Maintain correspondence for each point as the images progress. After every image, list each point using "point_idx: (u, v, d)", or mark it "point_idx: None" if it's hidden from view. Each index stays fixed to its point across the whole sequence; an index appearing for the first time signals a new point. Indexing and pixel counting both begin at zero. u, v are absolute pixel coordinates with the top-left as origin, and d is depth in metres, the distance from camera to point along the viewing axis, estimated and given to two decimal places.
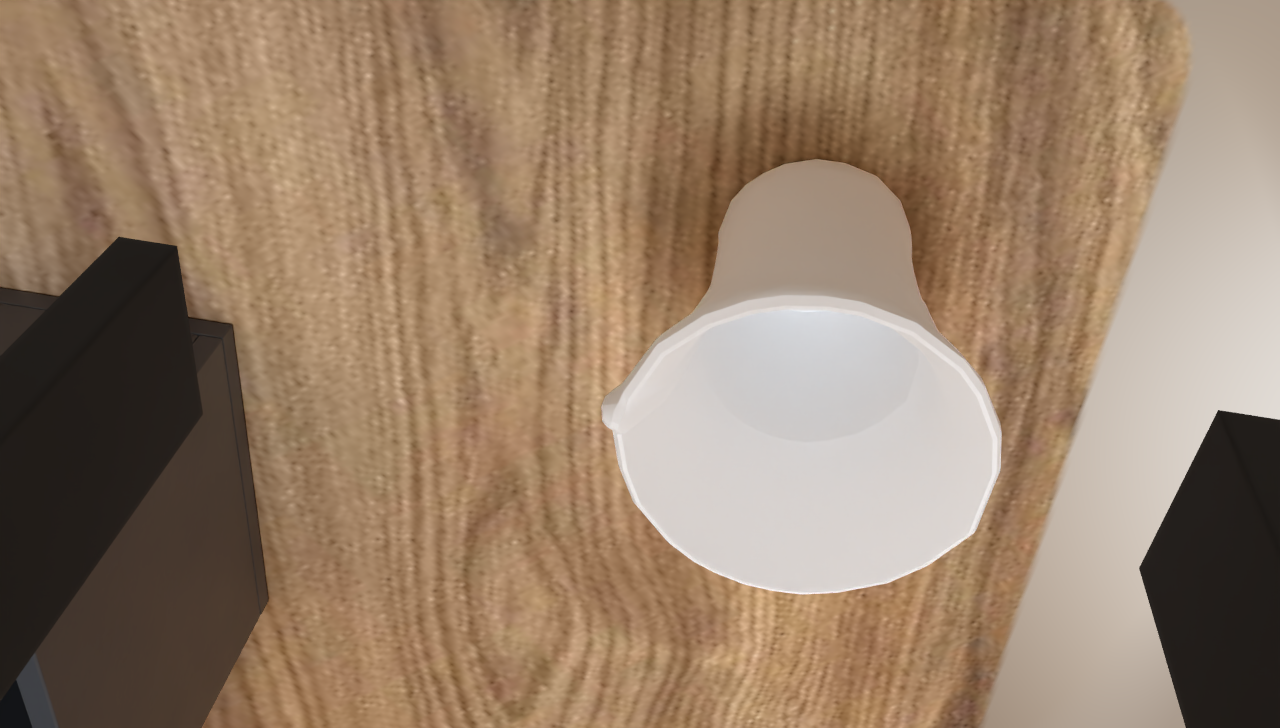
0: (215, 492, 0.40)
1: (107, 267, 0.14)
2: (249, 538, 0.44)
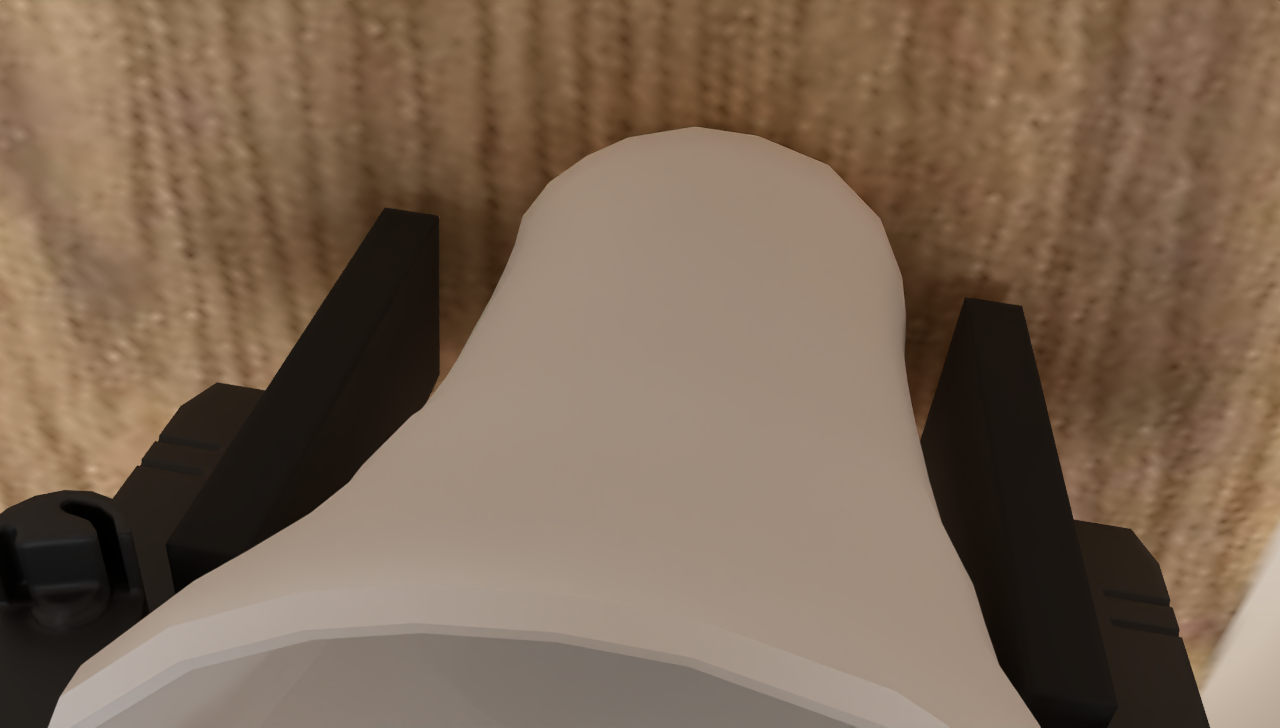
0: None
1: (384, 234, 0.15)
2: None
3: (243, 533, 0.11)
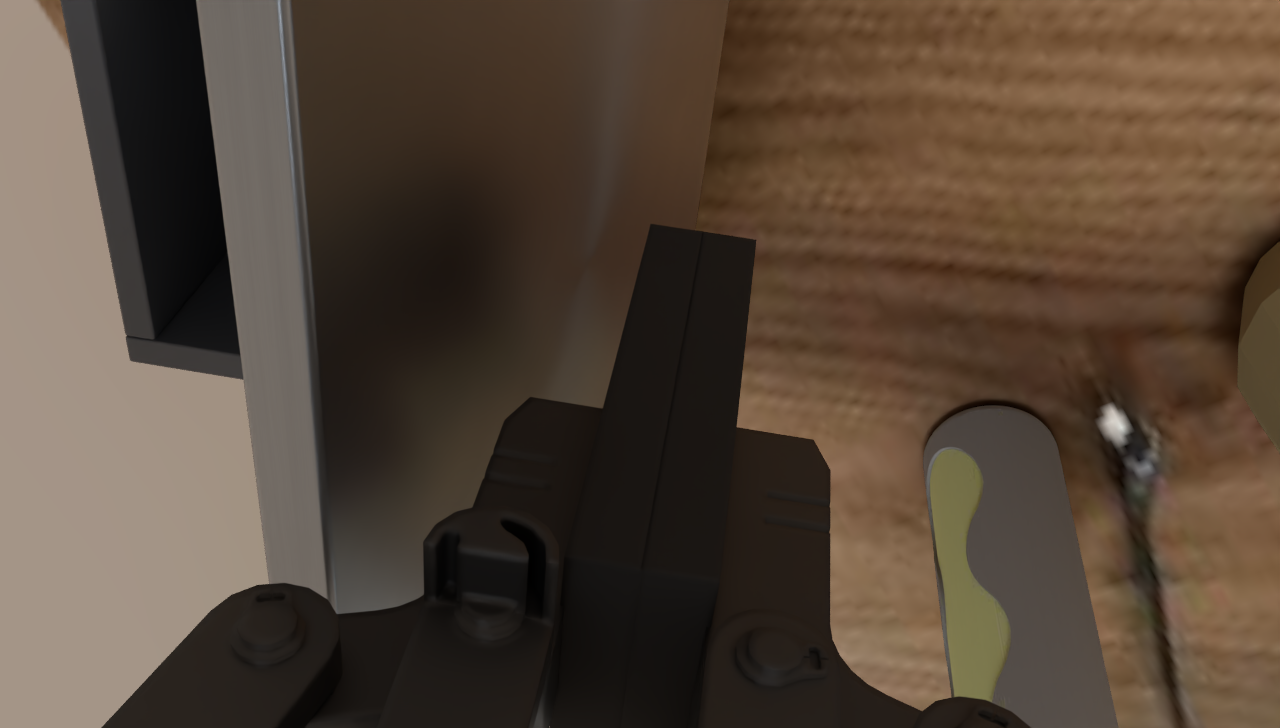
0: None
1: (659, 250, 0.16)
2: None
3: (632, 546, 0.11)
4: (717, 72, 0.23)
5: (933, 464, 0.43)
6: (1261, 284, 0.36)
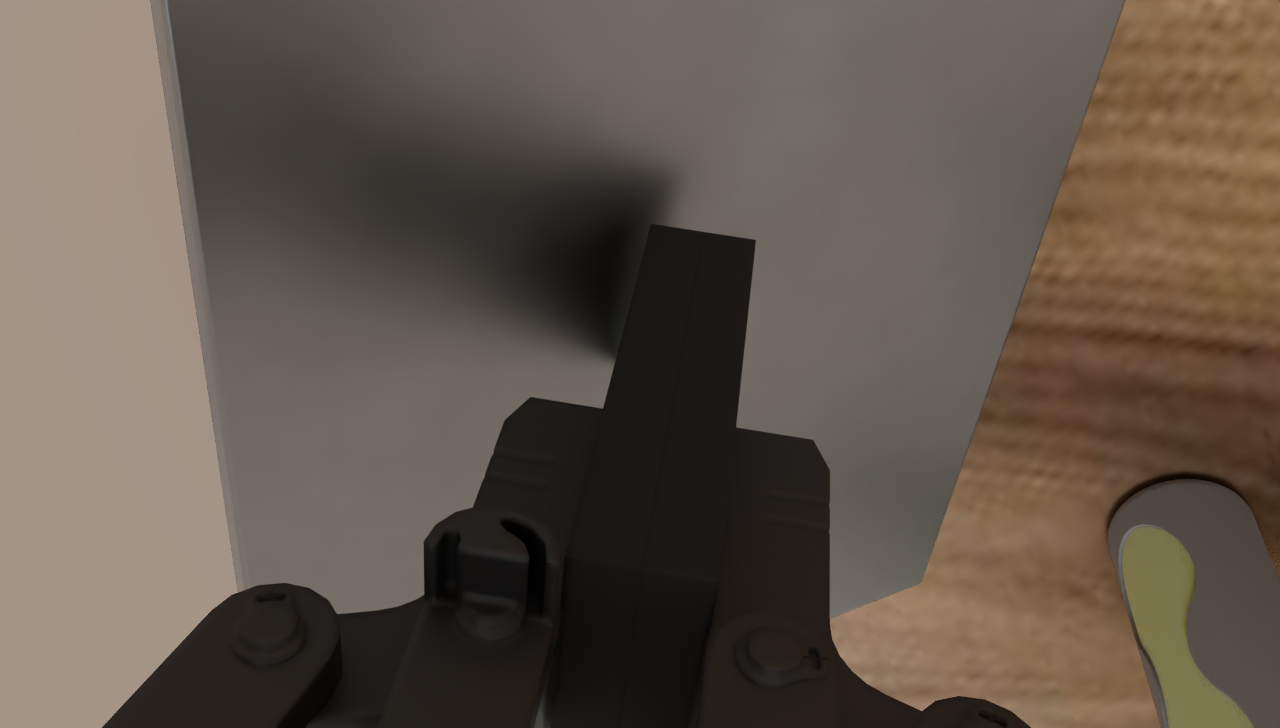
0: None
1: (660, 250, 0.16)
2: None
3: (632, 546, 0.11)
4: (1057, 182, 0.21)
5: (1126, 541, 0.40)
6: None
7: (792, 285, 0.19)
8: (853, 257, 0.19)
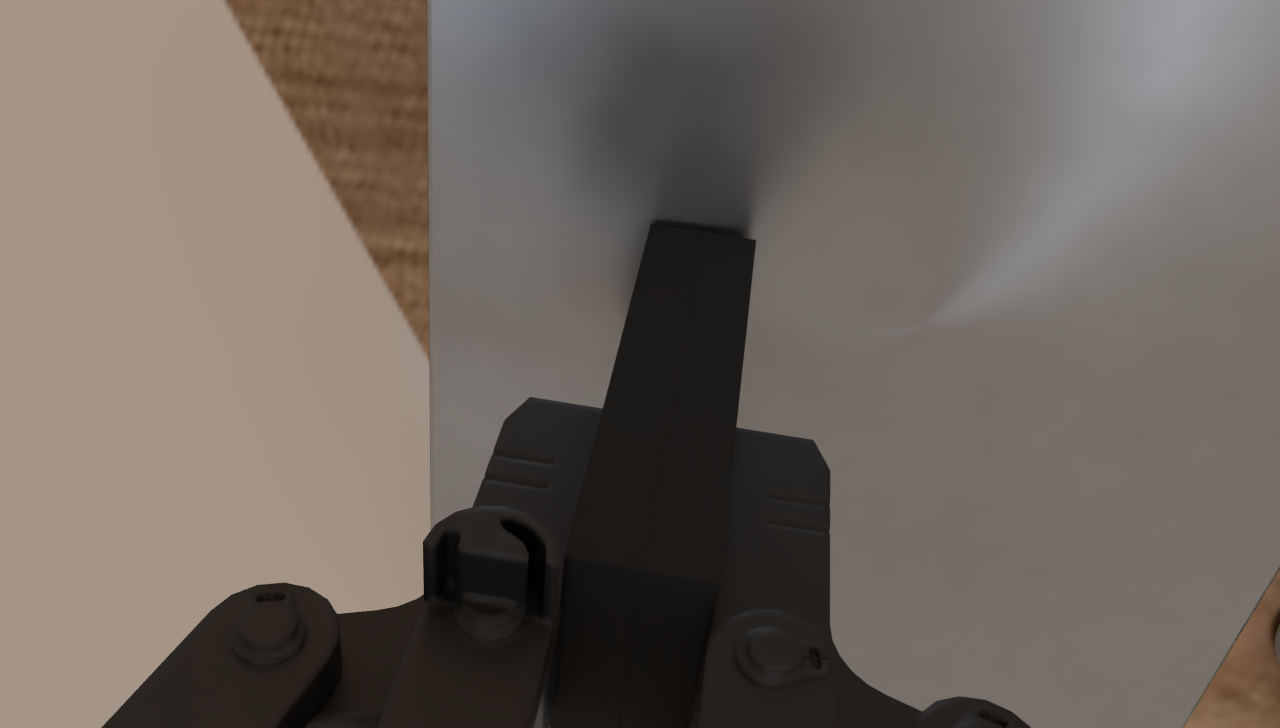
0: None
1: (660, 250, 0.16)
2: None
3: (632, 546, 0.11)
4: None
5: None
6: None
7: (1018, 357, 0.18)
8: (1099, 350, 0.18)
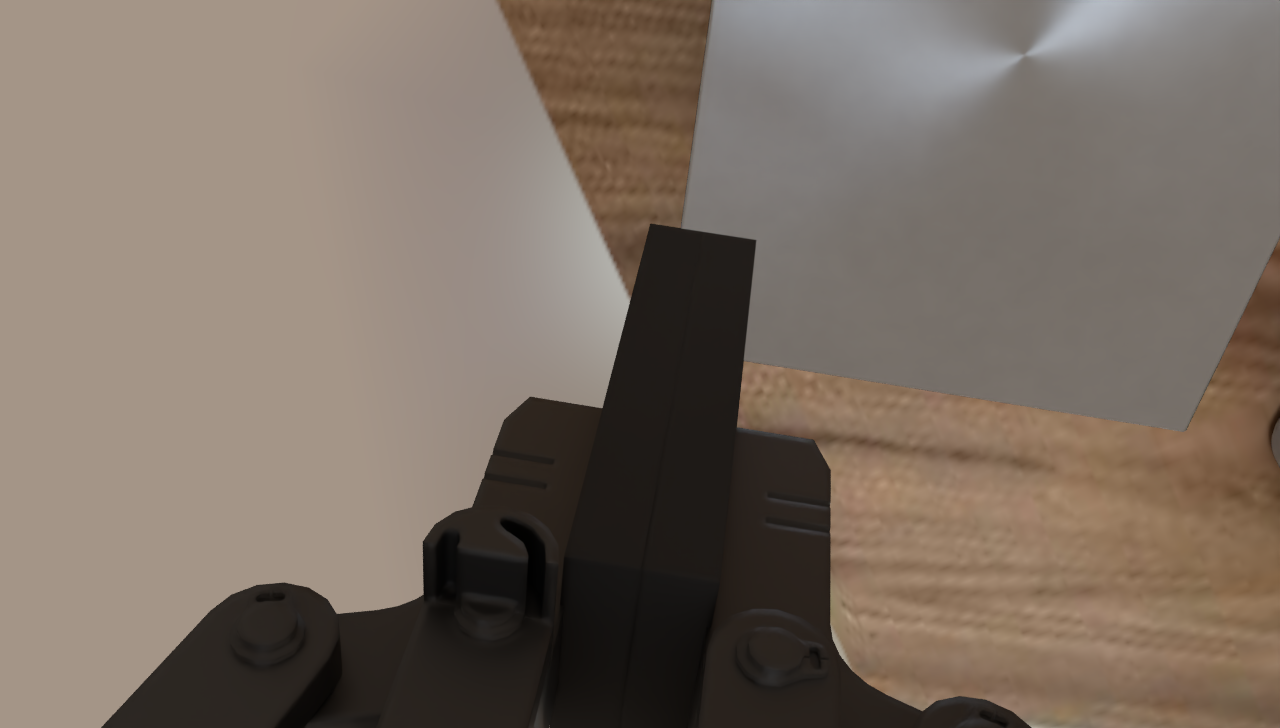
0: None
1: (660, 250, 0.16)
2: None
3: (631, 546, 0.11)
4: None
5: None
6: None
7: (1088, 82, 0.27)
8: (1143, 77, 0.27)
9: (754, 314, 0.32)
